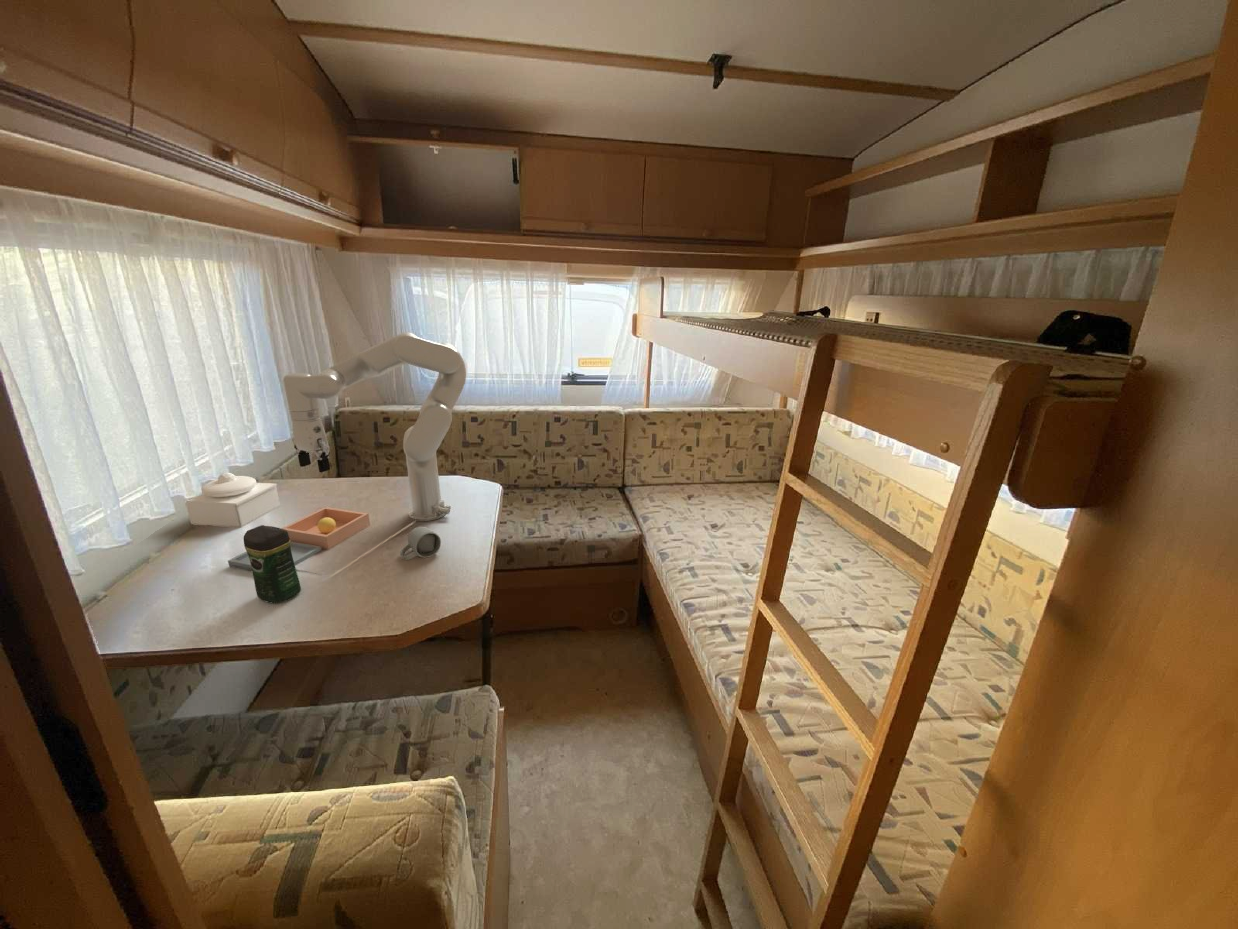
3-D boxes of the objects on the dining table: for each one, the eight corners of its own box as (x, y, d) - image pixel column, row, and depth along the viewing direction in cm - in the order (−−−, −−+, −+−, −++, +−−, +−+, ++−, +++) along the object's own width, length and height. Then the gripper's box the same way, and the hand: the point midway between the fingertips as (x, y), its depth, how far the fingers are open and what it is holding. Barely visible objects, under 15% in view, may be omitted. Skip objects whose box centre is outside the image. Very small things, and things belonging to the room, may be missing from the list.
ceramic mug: (431, 542, 155) (427, 520, 153) (442, 552, 150) (439, 529, 147) (396, 554, 149) (392, 531, 146) (407, 565, 143) (403, 541, 140)
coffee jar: (307, 591, 130) (293, 526, 124) (277, 608, 123) (261, 540, 117) (282, 582, 133) (267, 519, 127) (251, 598, 126) (234, 532, 120)
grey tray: (322, 552, 148) (321, 546, 148) (280, 577, 136) (279, 570, 135) (274, 544, 153) (272, 538, 152) (229, 567, 140) (227, 560, 139)
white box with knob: (235, 503, 181) (224, 462, 176) (282, 506, 179) (272, 464, 174) (191, 525, 164) (178, 480, 159) (242, 528, 163) (231, 482, 158)
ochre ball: (340, 530, 160) (338, 515, 159) (328, 537, 156) (325, 522, 154) (327, 528, 161) (325, 513, 160) (315, 534, 157) (312, 520, 155)
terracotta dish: (370, 527, 164) (368, 513, 163) (329, 551, 149) (326, 536, 147) (327, 520, 169) (325, 507, 167) (283, 543, 153) (280, 529, 152)
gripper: (334, 416, 151) (343, 469, 157) (300, 409, 159) (310, 460, 164) (310, 421, 145) (320, 476, 150) (275, 413, 152) (286, 466, 158)
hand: (315, 468), depth 157 cm, fingers open, 9 cm apart
